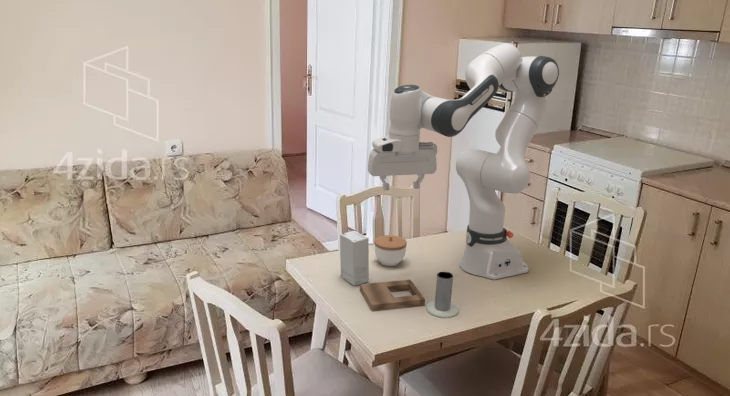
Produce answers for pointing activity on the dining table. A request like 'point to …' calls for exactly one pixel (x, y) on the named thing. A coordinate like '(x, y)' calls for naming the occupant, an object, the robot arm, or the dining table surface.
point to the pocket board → (383, 299)
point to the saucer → (442, 314)
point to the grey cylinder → (443, 291)
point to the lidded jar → (390, 249)
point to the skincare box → (354, 257)
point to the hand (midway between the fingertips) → (401, 188)
